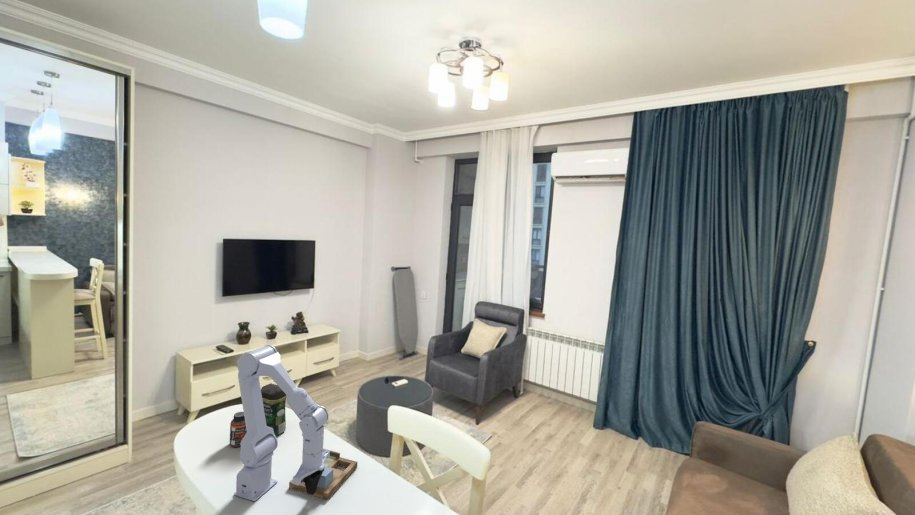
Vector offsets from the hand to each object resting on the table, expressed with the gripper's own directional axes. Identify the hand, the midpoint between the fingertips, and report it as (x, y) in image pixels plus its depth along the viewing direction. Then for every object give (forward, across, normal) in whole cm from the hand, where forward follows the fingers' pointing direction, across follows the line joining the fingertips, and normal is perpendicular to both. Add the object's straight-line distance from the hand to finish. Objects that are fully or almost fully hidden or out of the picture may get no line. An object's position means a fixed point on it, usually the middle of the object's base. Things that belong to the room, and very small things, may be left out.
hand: (311, 492), depth 114 cm
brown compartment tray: (+3, +11, +3) cm, 12 cm away
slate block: (+1, +6, 0) cm, 6 cm away
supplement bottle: (+3, +16, +43) cm, 46 cm away
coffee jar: (+3, +26, +38) cm, 47 cm away
